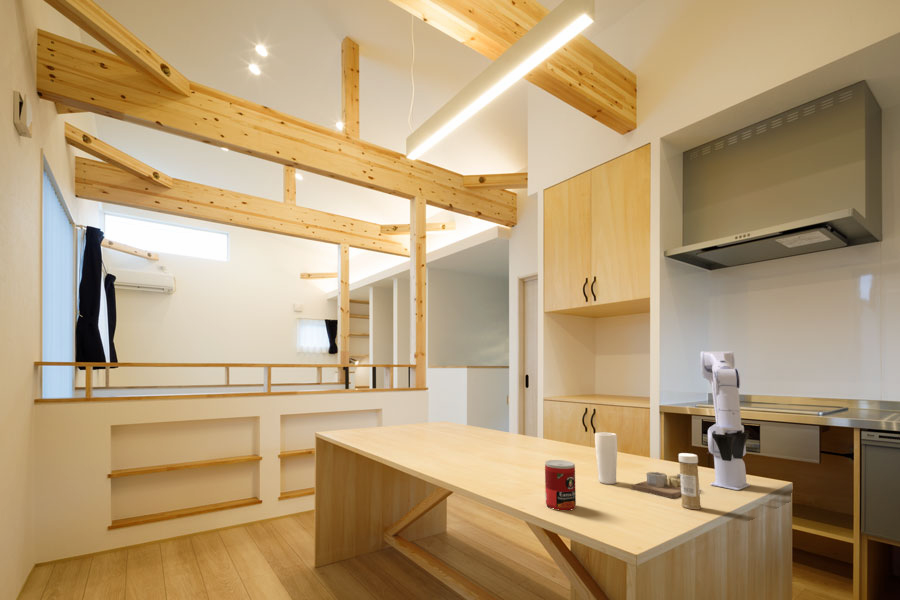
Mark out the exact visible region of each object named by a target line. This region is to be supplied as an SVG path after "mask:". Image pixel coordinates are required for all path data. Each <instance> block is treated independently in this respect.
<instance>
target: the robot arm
mask: <svg viewBox="0 0 900 600" xmlns="http://www.w3.org/2000/svg"><path fill="white" fill-rule="evenodd" d="M699 359H700V367H701V375H702V376H703V378H704V379H706V380H707V381H708V382H709V384H710V387H711V393H712V394H711V395H712V401H713V409H714V416H715V423H714V424H713V425H711V426H710V427H709V428H708V429H707V445H708V452H709V453H710V454H711V455H713V461H714V477H715V480H714V481H713V482H711V483H710V486H714V487H720V488H725V489H730V490H734V491H735V490H736V491H740V490H742V489H745V488H747V487H750V486H751V484H750V483H747V472H746V464H745V461H744V460H743V457H744V456H745V455H746V453H747V447H746V442H747V440H748V438H749V436H750V435H749V433H747V432H746V433H745V427H744V425H742V417H741V415H742V414H741V404H740V391H739V389H740V387H741V375H740V372H739V369H738V368H735V365H736V363H735V361H736V360H735V354H734V352H732V350H728V351H704V350H702V351H700V355H699Z"/></svg>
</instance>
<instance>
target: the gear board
mask: <svg viewBox="0 0 900 600" xmlns="http://www.w3.org/2000/svg"><path fill="white" fill-rule="evenodd" d="M654 475H658V474H654ZM667 484H668V487H665V488H660V487H652V486H649V485H648V484H647V480H646V481H642V482H638V483H634V484H631V490H633V489H634V491H637V492H638V491H639V492H643V493H647V494H650V493H651V495H656V496H660V497H664V498H667V499H674V498H678V497H682V494H681V480H680V473H676V475H675V474H674V475H667Z"/></svg>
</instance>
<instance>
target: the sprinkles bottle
mask: <svg viewBox="0 0 900 600" xmlns="http://www.w3.org/2000/svg"><path fill="white" fill-rule="evenodd" d="M678 463H679V474H680V480H681V494H682V495H681V506H682V508H685V509H688V510H701V509H702V508H701V507H702V505H701V497H700V494H701V492H700V491H701V490H700V482H699V479H700V478H699V467H698V463H699V456H698V455H697V454H696V453H695V454H694V453H687V452H681V453H678Z"/></svg>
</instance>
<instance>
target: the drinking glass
mask: <svg viewBox="0 0 900 600" xmlns="http://www.w3.org/2000/svg"><path fill="white" fill-rule="evenodd" d="M594 449H595V456H596V457H595V458H596V464H597V465H596V466H597V476H598V478H597V479H598V482H599V483H600V484H604V485H614V484H616V483H617V465H618V463H617V462H618V434H617V433H613V432H606V431H605V432H603V431H601V432H599V431H598V432H597V431H596V432H595V433H594Z"/></svg>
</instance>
